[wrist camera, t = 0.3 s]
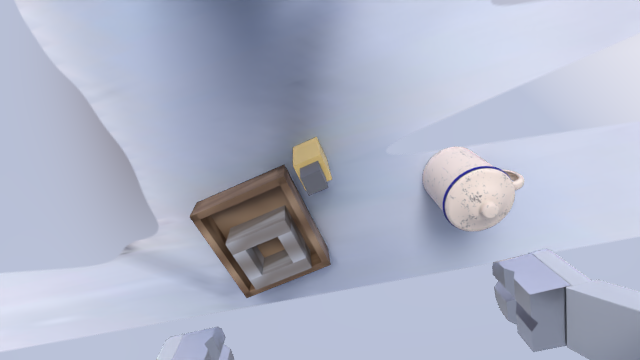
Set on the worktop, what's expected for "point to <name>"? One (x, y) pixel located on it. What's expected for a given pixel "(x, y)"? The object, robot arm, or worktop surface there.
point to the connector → (311, 166)
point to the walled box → (262, 232)
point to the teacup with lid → (470, 188)
